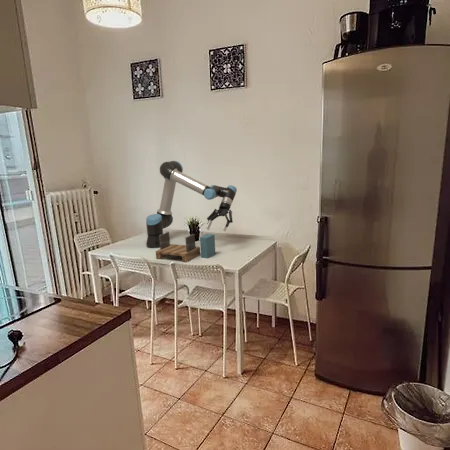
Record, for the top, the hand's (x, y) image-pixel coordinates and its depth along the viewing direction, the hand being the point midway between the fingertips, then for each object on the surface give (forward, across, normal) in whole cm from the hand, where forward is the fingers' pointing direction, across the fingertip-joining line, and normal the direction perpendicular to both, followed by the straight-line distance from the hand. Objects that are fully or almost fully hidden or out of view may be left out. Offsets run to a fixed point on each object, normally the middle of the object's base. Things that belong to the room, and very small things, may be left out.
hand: (215, 229), depth 250 cm
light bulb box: (-6, +80, -28) cm, 85 cm away
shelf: (+25, +18, +3) cm, 31 cm away
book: (+19, 0, -4) cm, 19 cm away
